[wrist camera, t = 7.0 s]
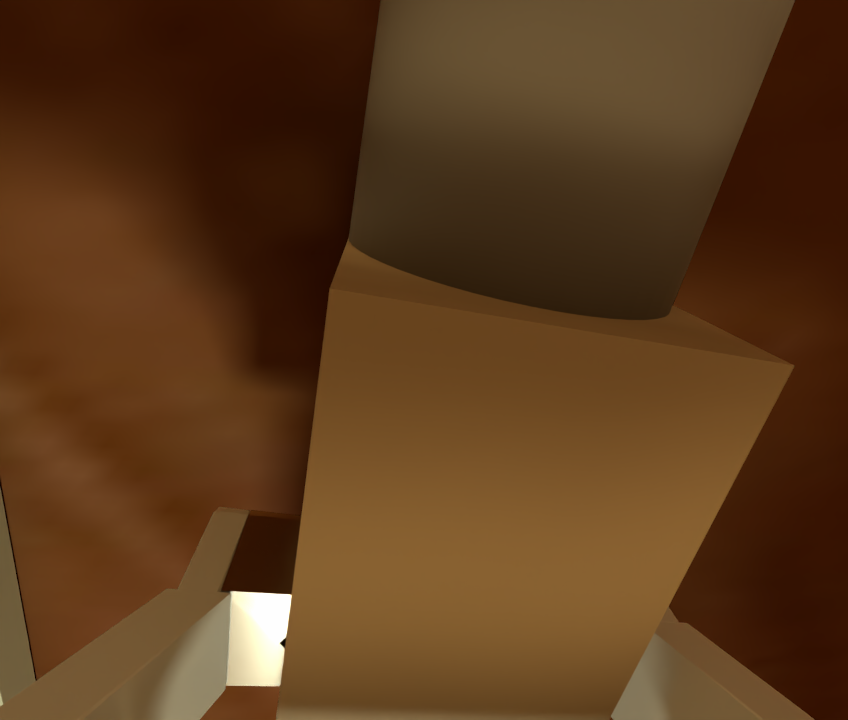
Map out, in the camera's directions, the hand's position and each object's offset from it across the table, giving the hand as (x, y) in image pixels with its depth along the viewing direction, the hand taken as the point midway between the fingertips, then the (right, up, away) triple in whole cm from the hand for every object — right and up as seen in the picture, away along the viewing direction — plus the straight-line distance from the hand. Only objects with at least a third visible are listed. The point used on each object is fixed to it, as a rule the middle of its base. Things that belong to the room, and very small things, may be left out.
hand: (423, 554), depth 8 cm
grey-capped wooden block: (0, +2, +2) cm, 2 cm away
